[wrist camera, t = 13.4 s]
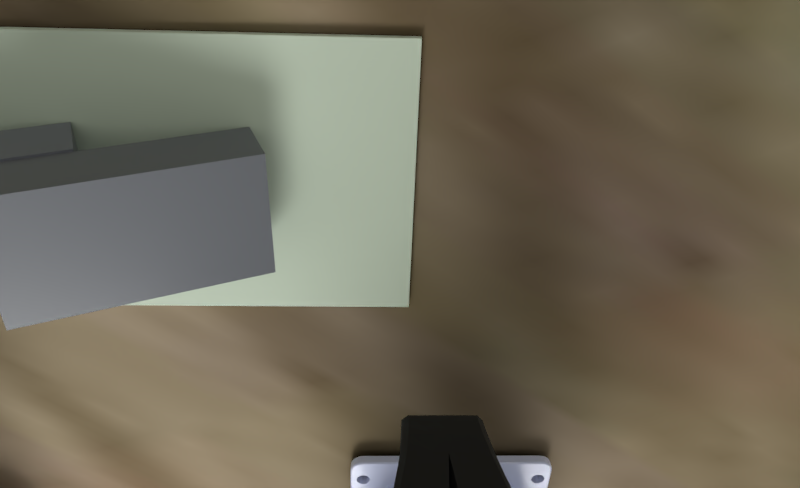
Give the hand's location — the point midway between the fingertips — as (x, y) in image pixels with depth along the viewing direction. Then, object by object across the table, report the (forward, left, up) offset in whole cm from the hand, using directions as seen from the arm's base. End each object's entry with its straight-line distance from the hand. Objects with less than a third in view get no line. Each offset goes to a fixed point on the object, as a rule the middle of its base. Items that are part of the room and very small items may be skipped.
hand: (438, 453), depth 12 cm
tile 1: (0, +4, -9) cm, 10 cm away
